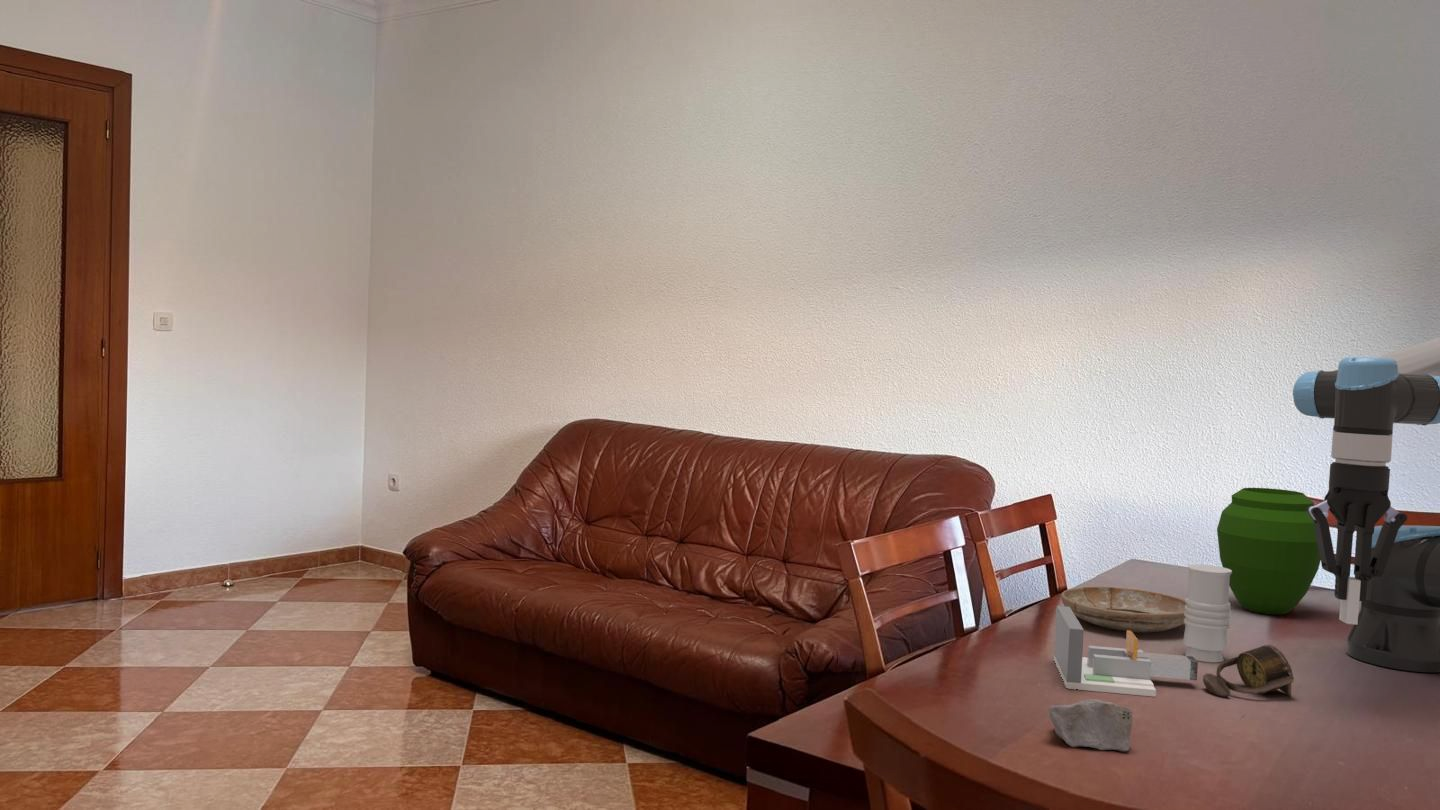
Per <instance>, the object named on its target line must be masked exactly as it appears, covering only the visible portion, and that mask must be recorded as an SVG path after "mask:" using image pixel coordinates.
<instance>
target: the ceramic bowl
mask: <svg viewBox="0 0 1440 810" xmlns="http://www.w3.org/2000/svg"><path fill="white" fill-rule="evenodd" d="M1060 597H1061V602H1062V605H1063V606H1066V607H1070V608H1071V610H1072V611H1073V613H1074V615H1075V616H1076V618H1079V619H1081V620H1082V621H1084V622H1086V623H1087V622H1088V623H1090V624H1091V625H1092V624H1093V625H1096V626H1098V627H1099V626H1100V627H1104V628H1107V629H1113V630H1118V631H1124V632H1127V630H1131V631H1132V633H1157V632H1158V633H1159V632H1164V631H1169V630H1171V629H1175V628H1177V627H1179V626H1181V625H1183V624H1185V623H1184V619H1185V618H1186V617H1185V616H1184V613H1185V611H1187V610H1186V609H1185V605H1186V604H1187V603H1186V602H1185V599H1182V598H1179V597H1176V596H1172V595H1168V594H1164V593H1160V592H1154V591H1148V590H1140V589H1134V588H1127V587H1125V588H1124V587H1112V586H1089V587H1087V586H1086V587H1085V586H1084V587H1076V588H1075V587H1074V588H1070V589H1066V590H1064V591H1062V593H1061V596H1060Z"/></svg>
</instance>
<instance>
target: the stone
mask: <svg viewBox="0 0 1440 810" xmlns="http://www.w3.org/2000/svg"><path fill="white" fill-rule="evenodd" d="M1048 708H1049V709H1048V710H1049V719H1050V721H1051V722H1052V725H1053V727H1054V732H1055V734H1056V736H1057V737H1058V738H1059V739H1061V740H1062V741H1064V742H1065V744H1067V745H1068V746H1069V747H1071V748H1078V747H1086V748H1087V747H1089V748H1092V749H1093V748H1094V749H1097V750H1099V751H1105V750H1106V751H1107V750H1109V751H1110V750H1112V751H1113V750H1114V751H1119V752H1124V753H1125V752H1128V751H1129V750H1130V742H1131V739H1132V738H1131V732H1132V727H1133V718H1134V717H1133V711H1132V710H1131V708H1130V707H1128V706H1123V705H1121V706H1120V705H1117V704H1116V703H1113V702H1111V701H1104V700H1101V699H1098V698H1097V699H1096V698H1089V699H1084V700H1080V701H1077V702H1075V703H1073V704H1062V705H1061V704H1060V705H1050V706H1049V707H1048Z"/></svg>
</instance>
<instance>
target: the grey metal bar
mask: <svg viewBox="0 0 1440 810" xmlns="http://www.w3.org/2000/svg"><path fill="white" fill-rule="evenodd" d="M1138 648H1139V639H1138V638H1137V637H1136V635H1135V634H1134V632H1132V631H1131V630H1127V631H1126V637H1125V649H1126V650H1127V651H1124V657H1131V658H1132V659H1135V660H1137V658H1143V659H1149V660H1150V661H1151V673H1150V677H1154V678H1164V679H1165V678H1166V679H1175V680H1177V679H1178V680H1187V681H1189V680H1190V681H1198V667H1199V666H1198V665H1199V662H1198V660H1196V659H1195V658H1194V657H1192V656H1185V655H1181V654H1180V655H1178V654H1177V655H1176V654H1167V653H1166V654H1164V653H1154V652H1145V651H1143V652H1138V650H1139V649H1138Z"/></svg>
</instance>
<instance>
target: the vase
mask: <svg viewBox="0 0 1440 810" xmlns="http://www.w3.org/2000/svg"><path fill="white" fill-rule="evenodd" d="M1309 506H1315V502H1314V501H1313V500H1312V499H1311V498H1309V497H1308V496H1307V495H1306V494H1305V493H1304V492H1300V491H1296V490H1290V489H1282V488H1281V489H1279V488H1278V489H1277V488H1270V487H1269V488H1268V487H1266V488H1265V487H1243V488H1241V489H1240V490H1238V491H1236V492H1235V493H1232V495H1231V502H1230V503H1229V504H1228V505H1227V506H1226V507H1225V508H1224V509H1223V510H1222V511H1221V514H1220V517H1219V521H1218V524H1217V527H1216V533H1217V534H1216V535H1217V541H1218V551H1219V552H1218V553H1219V560H1220V562H1221V565H1222V566H1221V567H1224V568H1228V569H1230V570H1232V574H1231V575H1230V580H1229V589H1230V590H1231V592H1232V593H1233V595H1234V597H1235V599H1236V600H1237V601H1238V602H1239V604H1240V605H1241V606H1242V607H1243V608H1244V609H1246V610H1247V611H1250V612H1253V613H1257V614H1262V615H1271V616H1272V615H1273V616H1277V615H1278V616H1281V615H1285V614H1288V613H1290V612H1291V611H1293V609H1295V607H1297V606H1298V605H1299V603H1300V602H1301V601H1302V599H1303V598H1304V597H1305V596H1306V595H1307V593H1308V591H1309V590H1310V587H1311V585H1312V584H1313V582H1314V579H1315V577H1316V575H1317V573H1318V570H1319V568H1320V565H1321V564H1320V563H1321V559H1320V554H1319V548H1318V543H1317V538H1316V532H1315V527H1314V522H1313V520H1312V518H1311V517H1310V515H1309V514H1308V512H1307V508H1308V507H1309Z"/></svg>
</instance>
